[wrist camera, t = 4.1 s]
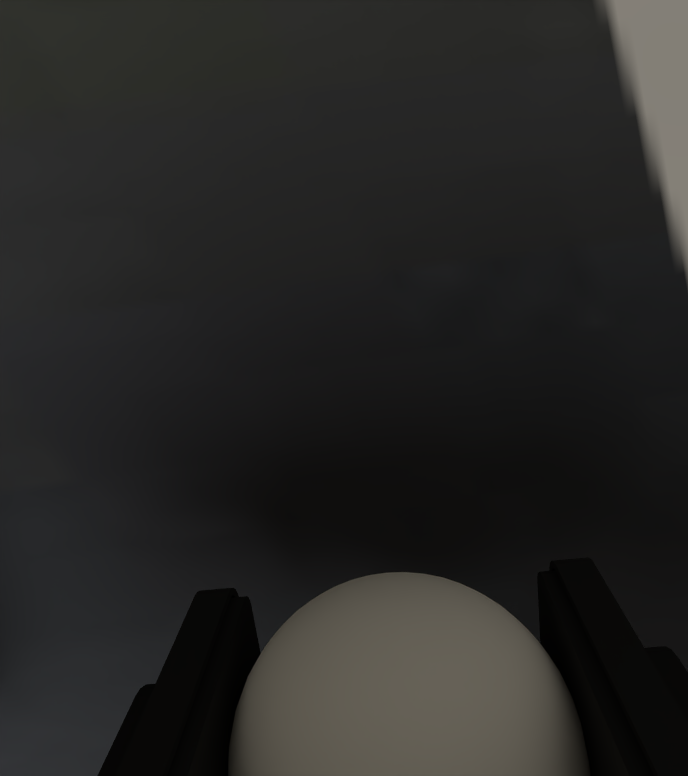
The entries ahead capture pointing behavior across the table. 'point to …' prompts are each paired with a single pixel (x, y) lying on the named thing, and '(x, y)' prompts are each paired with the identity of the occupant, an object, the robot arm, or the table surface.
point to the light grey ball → (405, 689)
